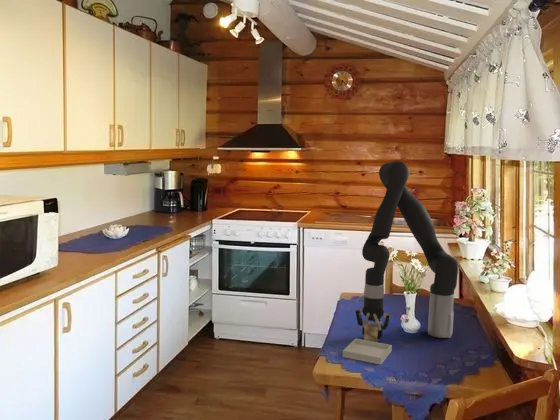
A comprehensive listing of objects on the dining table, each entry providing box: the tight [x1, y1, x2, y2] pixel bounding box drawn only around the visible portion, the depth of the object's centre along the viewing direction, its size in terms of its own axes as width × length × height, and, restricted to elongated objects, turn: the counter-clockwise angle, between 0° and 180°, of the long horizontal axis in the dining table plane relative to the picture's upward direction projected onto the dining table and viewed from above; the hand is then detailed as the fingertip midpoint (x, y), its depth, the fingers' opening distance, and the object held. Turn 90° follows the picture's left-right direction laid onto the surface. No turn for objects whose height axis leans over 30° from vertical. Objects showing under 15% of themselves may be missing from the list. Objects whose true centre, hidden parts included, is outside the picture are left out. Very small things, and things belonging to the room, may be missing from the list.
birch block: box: [363, 321, 381, 343], centre depth 215 cm, size 5×5×6 cm
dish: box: [342, 338, 393, 365], centre depth 201 cm, size 14×14×2 cm
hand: (372, 337), depth 215 cm, fingers closed on birch block, 5 cm apart
